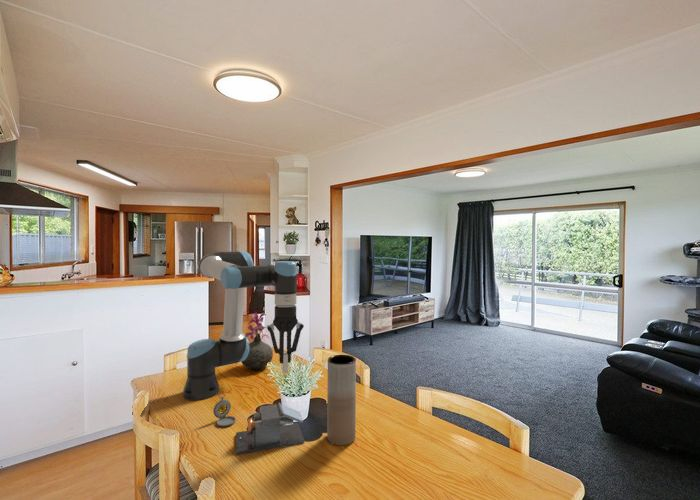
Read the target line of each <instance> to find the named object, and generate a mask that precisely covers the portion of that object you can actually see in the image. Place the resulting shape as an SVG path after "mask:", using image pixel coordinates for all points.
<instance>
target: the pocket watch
mask: <svg viewBox="0 0 700 500" xmlns="http://www.w3.org/2000/svg"><path fill="white" fill-rule="evenodd" d="M221 395H222V393H220V394H219V395H218V398H219V399H220V400H218V402H216V403H215V405H214V407H213V409H212V410H213V415H214V417H216V418H217V421H216V424H217V426H218V427H224V428H225V427H229V426H232V425H233V424H235V422H236V417H234V416H232V415H228V414H229V413H230V412H231V408H232V406H231V405H232V404H231V403H230V401H229V400H227V399H224V398H225V397H226V394H225V393H223V395H222V396H221ZM220 396H221V397H220Z"/></svg>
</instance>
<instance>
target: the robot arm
mask: <svg viewBox="0 0 700 500" xmlns="http://www.w3.org/2000/svg"><path fill="white" fill-rule="evenodd" d="M197 269H198V272H199V273H200V274H201V275H202V276H203V277H205V278H207V279H216V280H218V281H220V283H221V284H220V285H222V287H223V289H225V290H224V307H223V308H224V311H223V327H222V328H223V329H222V330H223V331H222V333H221V334H219V340H217V341H216V340H215V339H214V338H204V339H199V340H196V341H194V342H192V343H191V344H189V345H188V347H187V351H186V352H187V354H186V361H187V362H186V363H187V365H186V369H187V370H186V371H187V375H186V377H187V378H186V381H185V384H184V386H183V390H182V397H183V398H184V399H185V400H189V401H199V400H206V399H209V398H212V397H214V396H216V395H217V394H219V392H220V384H219V380H218V378H217V376H216V368H219V367H224V366H228V365H233V364H238V363H242V361H244V360H245V359H246V358H247V356H248V353H249V344H250V341H249V338H248V337H247V338H246V337H245V334H246V333H244V332H243V323H244V322H243V321H244V304H245V303H244V302H245V288H256V287H257V288H258V287H274V305H275V306H274V319H273V320H272V323H271V324H268V325H266V329H267V331H268V332H269V335H270V340H271V342H272V343H271V344H272V346H273V350H274V351H273V352H274V353H275V354H278V355H279V356H278V357H279V364H282V368H281V369H282V373H283V374H289V373H288V370H289V369H288V368H289V364H290V363H291V360H292V353H295V352H296V351H297V348H298V345H299V340H300V337H301V331H302V330H303V329H304V324H303V323H302V322H299V321H298V320H299V319H297V306H296V304H297V288H298V287H297V285H298V283H297V282H298V281H297V280H298V270H297V263H296V262H295V261H292V260H291V261H289V260H281V261H278V260H277V261H276V262H275V263H274V264H265V265H255V264H254V261H253V258H252V255H251V254H250V253H249V252H247V251H235V250H234V251H213V252H209V253H207V254H205V255H204V256H202V257H201V259H200V260H199V262H198V268H197ZM295 327H296V329H295V334H294V336H293V341H292V331H293V329H294V328H295ZM275 328H276V330H277V331H278V332H279V334H278V335H279V340H278V341H279V345H277V340H276V336H275V332H274V331H275ZM285 333H286V351H284V350H285V349H284V347H285V343H284V341H285ZM278 346H279V348H278Z"/></svg>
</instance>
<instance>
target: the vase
mask: <svg viewBox="0 0 700 500" xmlns="http://www.w3.org/2000/svg"><path fill="white" fill-rule="evenodd" d="M250 314H251V316H252V318H251V319H250V320H249V322H248V324H247V325H248V326H247V329H248V330H249V331H250V332H245V333H244V334H245V337H246V338H247V339H248V337H249V336H250V337H249V338H250V339H251V340H253V341H251V342H249V353H248V356H247V358H246V359H245V360H244V361H242V362H241V364H242V365H243V366H244V367H246V368H248V369H250V370H251V371H260V369H261V370H263V369H264V368H265V367H267V363H268V362H270V363H271V362H272V360H273V358H274V357H273V355H274V351H273V350H274V349H273V348H272V347H271V345H269V344H268V343H266V342H264V341H263V339H264V337H266V338H267V339H269V340H271V337H270V336H268V335H267V334H264V332H263V331H264V329H267V326H263V324H262V323H264V316H266V315H267V314H266V313H265V312H262V313H261V314H260V315H258V312H254V313H250ZM252 323H255V324H256V326H254V327H253V326H252ZM262 368H263V369H262Z"/></svg>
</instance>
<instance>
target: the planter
mask: <svg viewBox="0 0 700 500" xmlns="http://www.w3.org/2000/svg"><path fill="white" fill-rule="evenodd" d="M356 377H357V360H356V357H354V356H353V355H348V354H335V355H331V356H330V357H328V359H327V404H326V405H327V410H326V411H327V412H326V413H327V414H326V415H327V417H326V420H327V421H326V422H327V424H326V426H327V428H326V429H327V432H326V433H327V435H326V436H327V440H328V442H329V443H331V444H332V445H335V446H348V445H350V444H352V443H353V442H355V440H356V433H357V431H356V422H357V421H356V420H357V419H356V418H357V417H356V410H357V404H356V402H357V397H356V396H357V395H356V394H357V391H356V389H357V385H356V384H357V378H356Z"/></svg>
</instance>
